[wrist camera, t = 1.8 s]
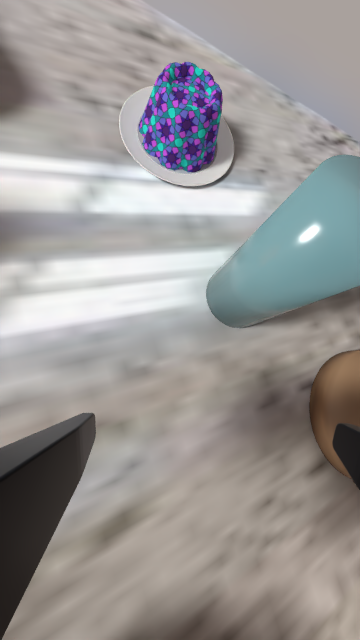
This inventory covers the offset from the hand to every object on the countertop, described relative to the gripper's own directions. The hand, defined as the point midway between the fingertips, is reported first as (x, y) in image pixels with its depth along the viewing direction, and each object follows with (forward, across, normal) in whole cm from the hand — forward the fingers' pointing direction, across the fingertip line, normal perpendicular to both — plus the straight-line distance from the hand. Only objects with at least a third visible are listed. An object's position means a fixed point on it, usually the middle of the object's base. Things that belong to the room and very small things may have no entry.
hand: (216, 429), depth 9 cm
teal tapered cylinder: (+16, +4, +2) cm, 16 cm away
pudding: (+22, -2, +17) cm, 28 cm away
